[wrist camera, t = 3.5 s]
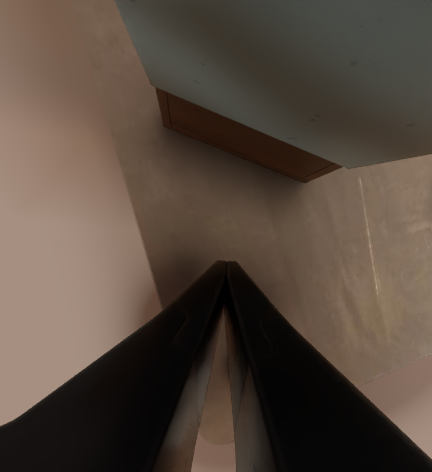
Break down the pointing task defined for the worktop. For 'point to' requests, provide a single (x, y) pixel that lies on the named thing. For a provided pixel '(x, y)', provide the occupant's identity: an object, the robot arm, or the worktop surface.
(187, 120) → the chest
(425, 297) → the worktop surface
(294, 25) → the lid
